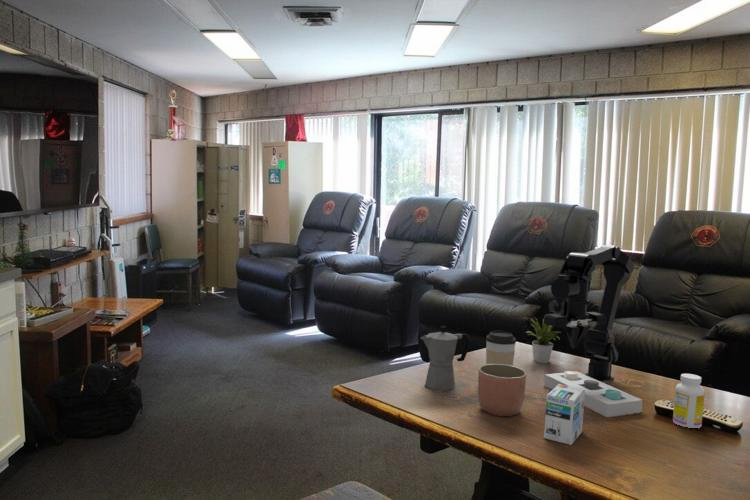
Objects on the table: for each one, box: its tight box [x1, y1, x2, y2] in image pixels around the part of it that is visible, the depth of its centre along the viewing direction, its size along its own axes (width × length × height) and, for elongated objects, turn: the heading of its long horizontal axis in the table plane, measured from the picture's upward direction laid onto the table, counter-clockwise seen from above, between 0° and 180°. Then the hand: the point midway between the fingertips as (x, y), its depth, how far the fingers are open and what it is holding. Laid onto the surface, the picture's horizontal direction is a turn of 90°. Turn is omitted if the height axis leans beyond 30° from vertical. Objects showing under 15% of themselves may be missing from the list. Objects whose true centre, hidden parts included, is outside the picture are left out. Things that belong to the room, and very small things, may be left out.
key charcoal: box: [584, 380, 599, 390], centre depth 172 cm, size 4×4×4 cm
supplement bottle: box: [672, 373, 705, 429], centre depth 155 cm, size 7×7×13 cm
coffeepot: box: [420, 325, 472, 392], centre depth 177 cm, size 15×9×18 cm, turn 101°
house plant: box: [521, 316, 562, 364], centre depth 208 cm, size 14×14×16 cm
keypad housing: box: [543, 371, 644, 418], centre depth 172 cm, size 12×26×4 cm, turn 22°
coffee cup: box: [485, 329, 517, 366], centre depth 185 cm, size 9×9×15 cm
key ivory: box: [563, 370, 578, 381], centre depth 180 cm, size 4×4×4 cm
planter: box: [477, 364, 528, 417], centre depth 159 cm, size 12×12×11 cm
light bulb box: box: [543, 384, 585, 446], centre depth 145 cm, size 11×7×11 cm, turn 148°
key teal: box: [605, 389, 621, 400], centre depth 164 cm, size 4×4×4 cm
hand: (573, 347), depth 179 cm, fingers closed
